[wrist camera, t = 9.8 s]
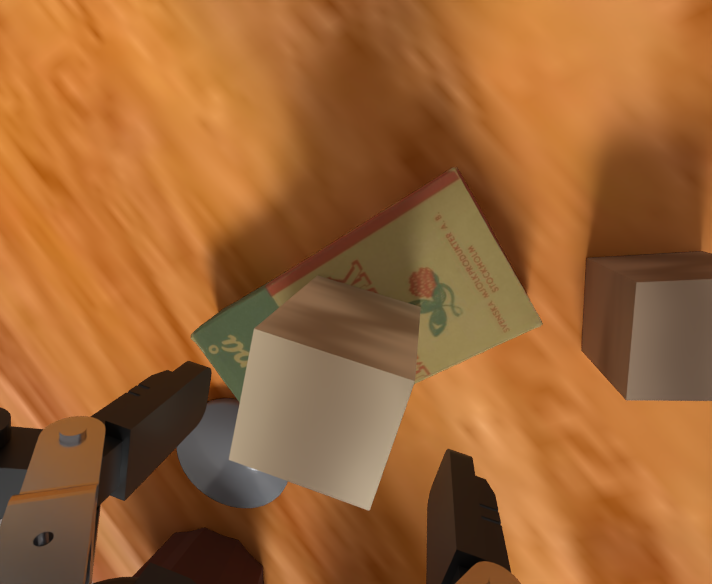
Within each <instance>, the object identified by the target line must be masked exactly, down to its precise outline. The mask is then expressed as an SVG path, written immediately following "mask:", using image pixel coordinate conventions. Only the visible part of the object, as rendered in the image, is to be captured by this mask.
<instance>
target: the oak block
mask: <svg viewBox="0 0 712 584" xmlns="http://www.w3.org/2000/svg"><path fill="white" fill-rule="evenodd" d="M420 311H421V307H419V306H416V305H413V304H409V303H406V302H403V301H399V300H396V299H393V298H390V297H386V296H383V295H380V294H377V293H373V292H370V291H367V290H364V289H360V288H357V287H354V286H351V285H347V284H344V283H341V282H338V281H334V280H331V279H328V278H324V277H321V276H318V275H317V276H316V277H315V278H314V279H313V280H311V281H310V282H309V283H308V284H307V285H305V286H304V287H303V288H302V289H301V290H299V291H298V292H297V293H296V294H295V295H294V296H292V297H291V298H290V299H289V300H288V301H286V302H285V303H284V304H283V305H282V306H280V307H279V308H278V309H277V310H276V311H274V312H273V313H272V314H271V315H270V316H268V317H267V318H266V319H265V320H264V321H263V322H261V323H260V324H259V325H258V326H257V327H255V328H254V331H253V337H252V342H251V347H250V352H249V357H248V362H247V368H246V373H245V378H244V383H243V388H242V394H241V399H240V404H239V409H238V414H237V420H236V425H235V430H234V435H233V440H232V445H231V451H230V456H229V460H231V461H234V462H236V463H239V464H242V465H245V466H247V467H250V468H253V469H256V470H258V471H261V472H264V473H267V474H269V475H272V476H275V477H278V478H280V479H283V480H286V481H289V482H291V483H294V484H297V485H300V486H302V487H305V488H308V489H311V490H313V491H316V492H319V493H322V494H324V495H327V496H330V497H333V498H335V499H338V500H341V501H344V502H346V503H349V504H352V505H355V506H357V507H360V508H363V509H366V510H368V511H370V508H371V505H372V502H373V499H374V497H375V494H376V491H377V488H378V485H379V482H380V480H381V477H382V474H383V471H384V468H385V465H386V462H387V460H388V457H389V454H390V451H391V448H392V445H393V442H394V440H395V437H396V434H397V431H398V428H399V425H400V422H401V420H402V417H403V414H404V411H405V408H406V405H407V402H408V400H409V397H410V394H411V391H412V388H413V385H414V383H415V375H416V362H417V349H418V336H419V324H420Z"/></svg>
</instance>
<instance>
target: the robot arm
mask: <svg viewBox="0 0 712 584" xmlns="http://www.w3.org/2000/svg"><path fill="white" fill-rule="evenodd" d="M210 380H211V369H210V368H209V367H206V366H203V365H200V364H197V363H194V362H191V361H187V362H185V363H184V364H183V365H181V366H180V367H178V368H177V369H176V370H174V371H173V372H172V371H169V370H166V371H163V372H160V373H157V374H154V375H151V376H150V377H148V378H147V379H145V380H144V381H142V382H141V383H139V385H138V386H135V387H134V388H132V389H131V390H129V392H128V393H125V394H123V395H122V396H120V397H119V398H117V399H116V400H114V401H113V402H112V403H110V404H109V405H107V406H106V407H104V408H103V409H101V410H100V411H98V412H97V413H95V414H94V415H92V416H91V417H88V416H75V417H68V418H64V419H61V420H58V421H56V422H54V423H52V424H50V425H49V426H47V427H46V428H45V429H33V428H22V427H11V416H10V413H9V412H8V411H7V410H5V409H3V408H0V519H2V522H1V524H0V584H92V574H93V566H94V557H95V549H96V541H97V533H98V524H99V516H100V505H101V503H102V502H103V501H104V500H105V499H106V498H107V497H108V496H109V495H110V496H113V497H116V498H118V499H121V500H123V501H125V500H126V499H127V498H128V497H129V496H130V495H131V494H132V493H133V492H134V490H135V489H136V488H137V487H138V486H139V485H140V484H141V483H142V482H143V481H144V480H145V479H146V478H147V477H148V476H149V475H150V474H151V473H152V472H153V471H154V470H155V469H156V468H157V467H158V466H159V465H160V464H161V463H162V462H163V461H164V460H165V459H166V458H167V456H168V455H169V454H170V453H171V452H172V451H173V450H174V449H175V448H176V447H177V446H178V445H179V444H180V443H181V442H182V441H183V440H184V439H185V438H186V437H187V436H188V435H189V434H190V433H191V432H192V431H193V430H194V429H195V428H196V427H197V425H198V424H199V423H200V421H201V419H202V418H203V416H204V413H205V410H206V406H207V399H208V393H209V387H210ZM500 524H501V521H500V516H499V513H498V506H497V501H496V496H495V494H494V492H493V490H492V489H491V487H490V486H489V484H488V482H487V481H486V479H483V478H480V477H477V476H475V471H474V464H473V458H472V457H471V456H468V455H465V454H462V453H459V452H456V451H453V450H450V449H447V450H446V452H445V454H444V457H443V459H442V462H441V464H440V467H439V470H438V472H437V475H436V477H435V480H434V482H433V485H432V488H431V491H430V495H429V500H428V507H427V576H426V584H521V583H520V582H519V581H518V579H517V578H516V577H515V576H514V575H513V574H512V573H511V570H510V565H509V560H508V555H507V550H506V545H505V540H504V535H503V531H502V526H501V525H500ZM93 584H197V583H195V582H194V581H193V580H192V579H191V578H188V577H186V576H183V575H181V574H178V573H176V572H173V571H171V570H168V569H166V568H163V567H161V566H158V565H156V564H153V563H151V562H150V563H149V564H148V566H147V567H146V568H145V570H144V571H143V572H142V574H141V575H140V576H139V577H119V578H113V579H107V580H104V581H100V582H96V583H93Z"/></svg>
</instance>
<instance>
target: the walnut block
mask: <svg viewBox="0 0 712 584" xmlns="http://www.w3.org/2000/svg"><path fill="white" fill-rule="evenodd" d="M582 352H583V353H584V354H585V355H586V356H587V357H588V358H589V359H590V360H591V362H592V363H593V364H594V365H595V366H596V367H597V368H598V369H599V370H600V372H601V373H602V374H603V375H604V376H605V377H606V378H607V379H608V381H609V382H610V383H611V384H612V385H613V386H614V387H615V388H616V389H617V391H618V392H619V393H620V394H621V395H622V396H623V397H624V398H625V400H669V401H712V254H711V253H707V252H703V251H695V252H678V253H661V254H644V255H627V256H609V257H592V258H586V276H585V295H584V314H583V332H582Z"/></svg>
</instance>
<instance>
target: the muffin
mask: <svg viewBox="0 0 712 584" xmlns="http://www.w3.org/2000/svg"><path fill="white" fill-rule="evenodd" d="M150 562H151V563H153V564H156V565H158V566H161V567H163V568H166V569H168V570H171V571H173V572H176V573H178V574H181V575H183V576H186V577H188V578H191V579H192V580H193V581H194V582H195V583H197V584H264V581H263V566H262V565H261V564H260V563H258V562H257V561H256V560H255V559H254V558H253V557H252V556H251V555H250V554H249V553H248V551H247V550H246V549H245V548H244V546H243V545H242V544H241V543H240V541H239V540H236V539H232V538H229V537H226V536H223V535H220V534H218V533H216V532H214V531H211V530H209V529H207V528H205V527H204V528H201V529H197V530H194V531H190V532H178V533H174V534H173V535H172V536H171V537H170V538H169V540H168V541H167V542H166V543H165V544H164V545H163V546H162V547H161V548H160V549H159V550H158V551H157V552H156V553H155V554H154V555H153V556H152V557H151V558H150V559H149V560H148V561H147V562H146V563H145V564H144V565H143V566H142V567H141V568H140V569H139V570H138V571H137V573H136V574H135V575H134V576H133V577H139V576H140V575H141V574H142V572H143V571H144V570H145V568H146V567H147V566H148V564H149V563H150Z"/></svg>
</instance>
